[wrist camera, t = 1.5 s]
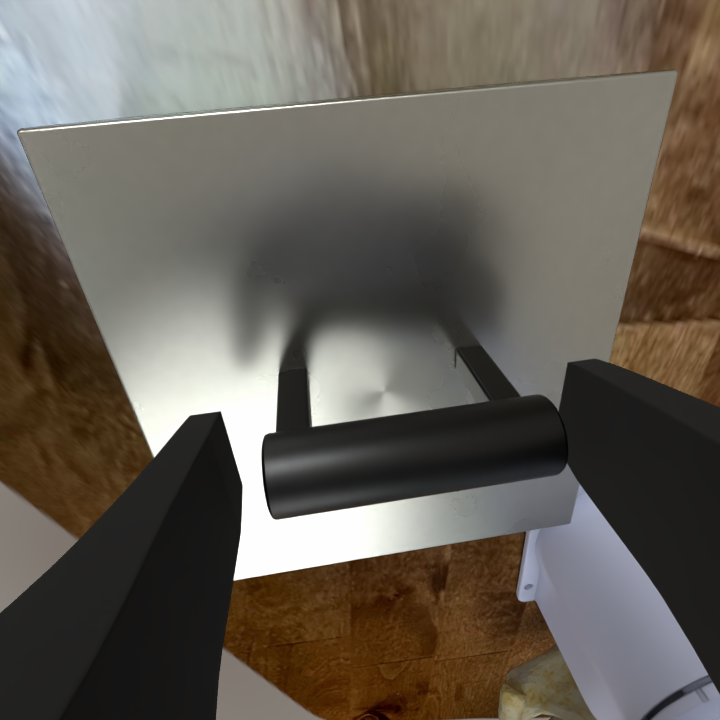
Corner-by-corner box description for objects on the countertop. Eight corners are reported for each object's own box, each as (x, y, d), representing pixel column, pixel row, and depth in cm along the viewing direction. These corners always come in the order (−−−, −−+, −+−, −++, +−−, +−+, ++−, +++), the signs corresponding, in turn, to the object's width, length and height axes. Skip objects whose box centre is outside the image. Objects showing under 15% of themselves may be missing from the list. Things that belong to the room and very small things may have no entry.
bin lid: (561, 509, 16) (650, 643, 12) (208, 567, 15) (178, 734, 11) (656, 70, 9) (930, 47, 5) (33, 127, 8) (-200, 151, 4)
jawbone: (891, 537, 27) (1116, 740, 19) (812, 683, 36) (941, 868, 27) (473, 566, 32) (501, 741, 23) (493, 690, 40) (518, 851, 32)
